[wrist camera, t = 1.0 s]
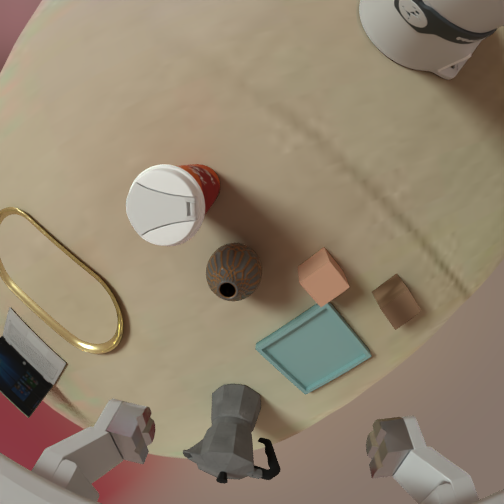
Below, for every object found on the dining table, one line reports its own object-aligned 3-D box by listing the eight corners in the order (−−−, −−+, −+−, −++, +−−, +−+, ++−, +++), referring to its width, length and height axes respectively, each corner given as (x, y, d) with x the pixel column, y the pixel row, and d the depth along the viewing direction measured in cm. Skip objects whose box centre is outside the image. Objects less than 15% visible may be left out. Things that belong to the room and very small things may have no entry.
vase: (213, 234, 41) (197, 258, 33) (265, 239, 41) (261, 265, 33) (212, 281, 44) (197, 313, 36) (261, 286, 43) (256, 320, 35)
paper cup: (228, 155, 38) (200, 163, 25) (228, 214, 40) (203, 252, 27) (169, 157, 38) (117, 168, 25) (171, 214, 41) (125, 249, 28)
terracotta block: (324, 246, 41) (329, 260, 36) (342, 270, 42) (349, 287, 37) (297, 266, 42) (299, 282, 37) (317, 289, 43) (320, 307, 38)
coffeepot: (196, 403, 53) (173, 480, 37) (208, 372, 50) (182, 456, 33) (272, 425, 54) (267, 502, 37) (292, 396, 51) (291, 482, 34)
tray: (325, 297, 43) (326, 302, 42) (369, 350, 46) (371, 356, 44) (256, 343, 47) (255, 349, 46) (305, 388, 50) (305, 394, 48)
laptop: (67, 361, 55) (37, 400, 42) (55, 383, 59) (28, 418, 46) (11, 305, 52) (-26, 335, 39) (4, 334, 55) (-27, 362, 43)
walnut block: (396, 273, 41) (408, 288, 36) (409, 294, 42) (421, 311, 37) (371, 291, 42) (380, 309, 38) (385, 311, 43) (395, 329, 39)
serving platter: (107, 364, 53) (104, 369, 52) (-10, 260, 48) (-15, 263, 47) (143, 303, 47) (139, 308, 45) (4, 186, 42) (-1, 188, 41)
